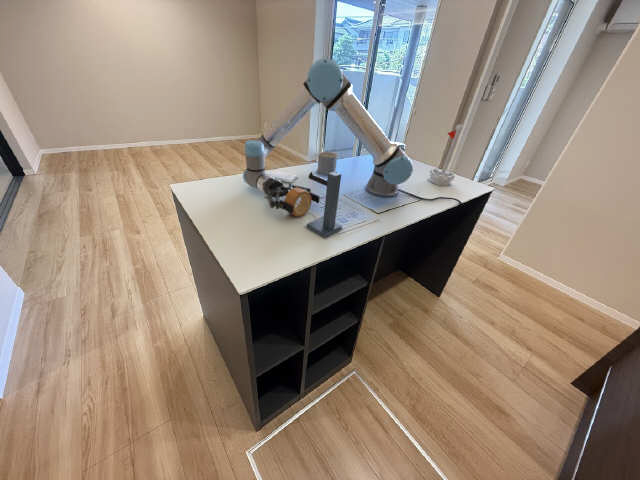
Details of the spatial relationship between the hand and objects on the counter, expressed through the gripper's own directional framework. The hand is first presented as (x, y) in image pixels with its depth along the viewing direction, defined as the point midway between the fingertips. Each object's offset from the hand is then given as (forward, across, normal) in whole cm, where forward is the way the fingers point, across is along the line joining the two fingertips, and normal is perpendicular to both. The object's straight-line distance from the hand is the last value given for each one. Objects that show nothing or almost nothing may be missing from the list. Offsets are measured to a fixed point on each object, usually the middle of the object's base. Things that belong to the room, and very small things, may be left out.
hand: (306, 204), depth 93 cm
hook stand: (+8, 0, -6) cm, 10 cm away
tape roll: (-4, 0, -1) cm, 4 cm away
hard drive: (-36, -19, -6) cm, 41 cm away
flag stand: (+19, -88, -6) cm, 90 cm away
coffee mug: (-29, -46, -6) cm, 55 cm away
